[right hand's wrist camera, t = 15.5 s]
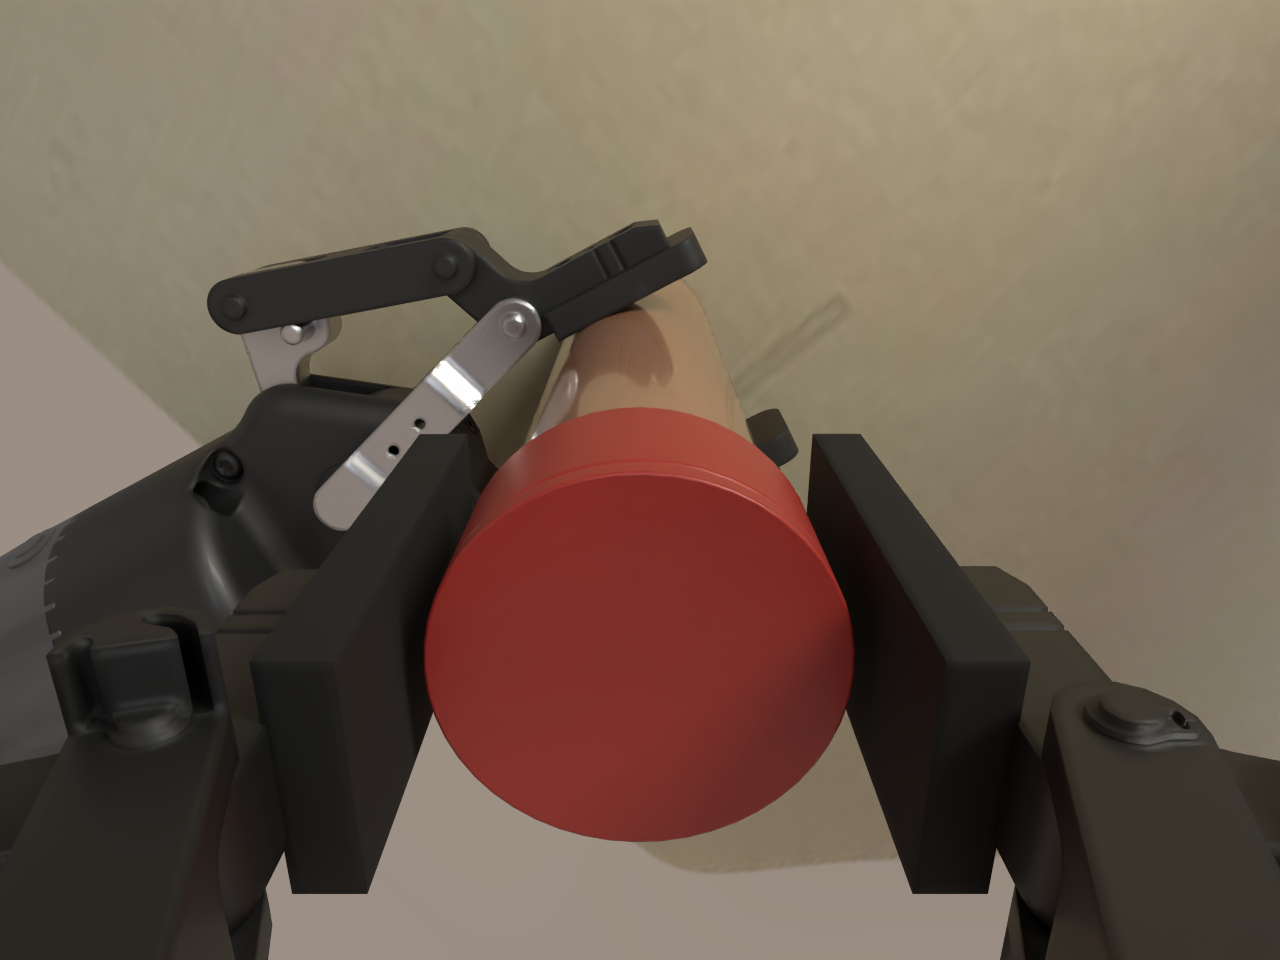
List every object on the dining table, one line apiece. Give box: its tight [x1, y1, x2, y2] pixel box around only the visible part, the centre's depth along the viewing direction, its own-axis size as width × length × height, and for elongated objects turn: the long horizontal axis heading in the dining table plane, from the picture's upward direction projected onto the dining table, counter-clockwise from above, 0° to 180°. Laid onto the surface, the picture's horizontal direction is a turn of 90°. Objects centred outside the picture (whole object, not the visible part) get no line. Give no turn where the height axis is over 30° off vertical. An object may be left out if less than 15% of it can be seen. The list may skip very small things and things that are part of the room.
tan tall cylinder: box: [523, 279, 756, 446], centre depth 19 cm, size 4×4×18 cm
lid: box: [424, 407, 855, 842], centre depth 11 cm, size 5×5×2 cm
